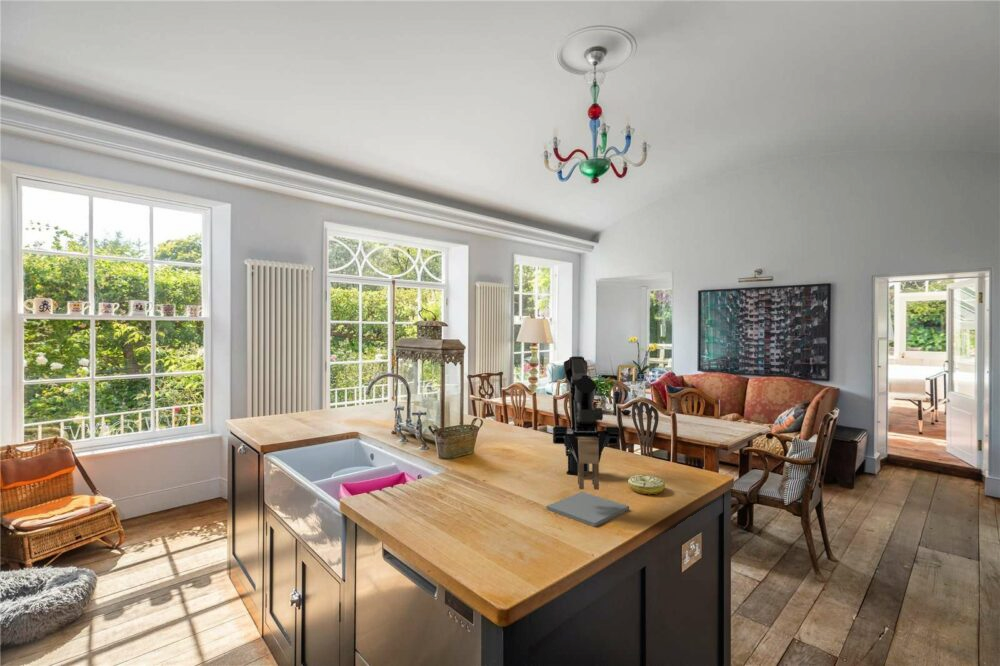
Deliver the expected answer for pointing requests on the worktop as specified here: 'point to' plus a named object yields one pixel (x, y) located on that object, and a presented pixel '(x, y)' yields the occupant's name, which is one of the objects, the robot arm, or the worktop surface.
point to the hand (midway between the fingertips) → (588, 461)
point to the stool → (588, 460)
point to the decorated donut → (646, 484)
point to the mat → (588, 508)
